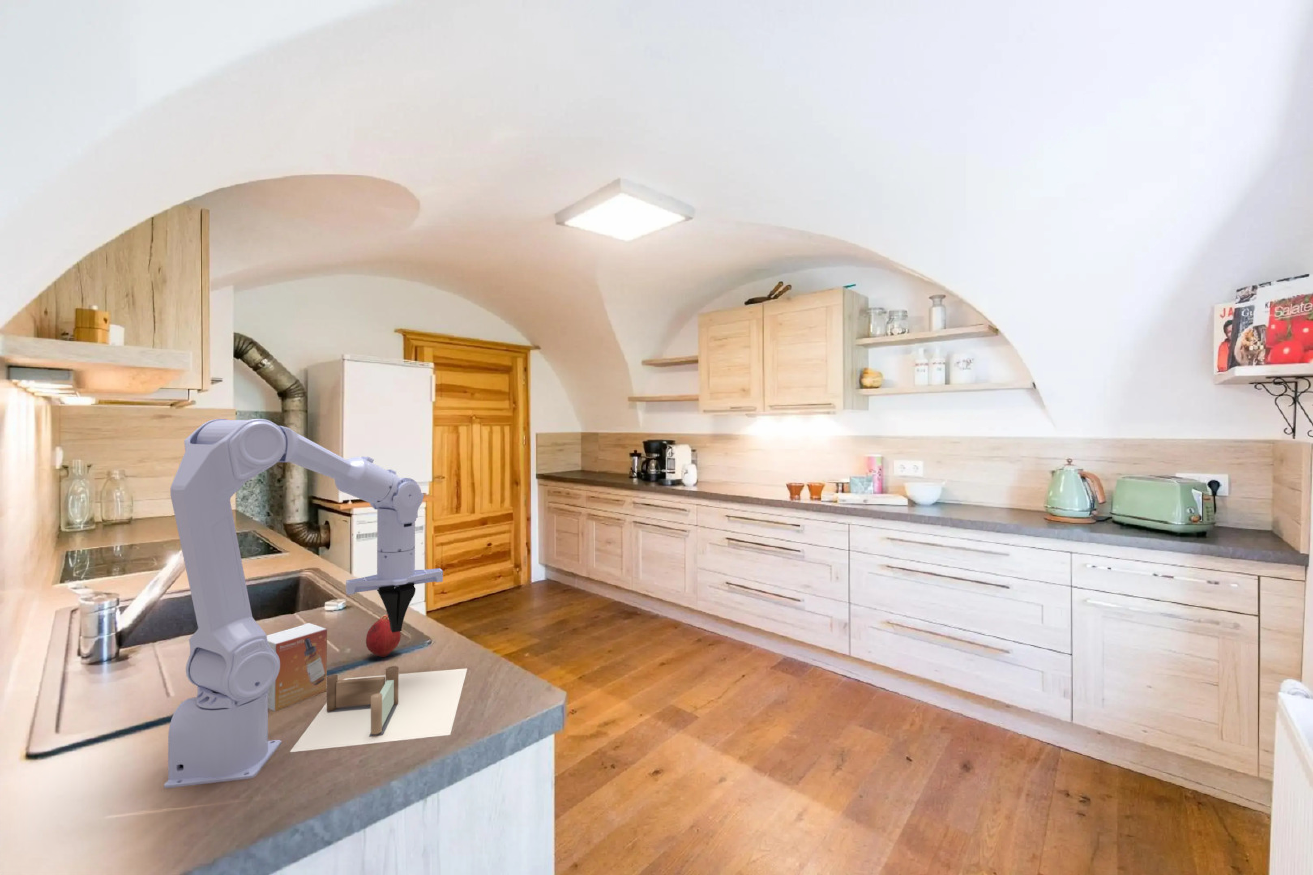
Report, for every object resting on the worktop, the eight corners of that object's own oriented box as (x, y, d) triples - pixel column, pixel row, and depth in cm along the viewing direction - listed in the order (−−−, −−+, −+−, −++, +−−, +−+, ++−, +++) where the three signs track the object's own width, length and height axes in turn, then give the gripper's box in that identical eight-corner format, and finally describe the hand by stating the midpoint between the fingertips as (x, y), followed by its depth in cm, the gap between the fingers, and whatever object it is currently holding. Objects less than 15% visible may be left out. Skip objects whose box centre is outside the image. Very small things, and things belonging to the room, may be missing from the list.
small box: (274, 713, 83) (274, 644, 83) (255, 704, 86) (255, 636, 85) (328, 692, 90) (328, 627, 90) (309, 683, 93) (309, 621, 92)
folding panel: (385, 704, 84) (385, 672, 84) (395, 703, 85) (395, 671, 84) (369, 734, 76) (369, 698, 76) (380, 733, 76) (380, 697, 76)
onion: (375, 666, 100) (375, 622, 99) (360, 658, 103) (360, 615, 103) (406, 656, 104) (406, 614, 104) (390, 648, 108) (391, 607, 108)
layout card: (289, 754, 72) (289, 751, 72) (344, 680, 94) (344, 678, 94) (450, 736, 77) (450, 734, 77) (467, 669, 98) (467, 667, 98)
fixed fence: (324, 712, 83) (325, 676, 82) (329, 707, 84) (329, 671, 84) (396, 706, 85) (397, 670, 85) (399, 700, 87) (399, 665, 86)
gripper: (349, 559, 84) (349, 647, 85) (447, 548, 93) (447, 628, 93) (344, 550, 90) (344, 633, 90) (437, 541, 98) (437, 616, 99)
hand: (395, 630), depth 92 cm, fingers closed
